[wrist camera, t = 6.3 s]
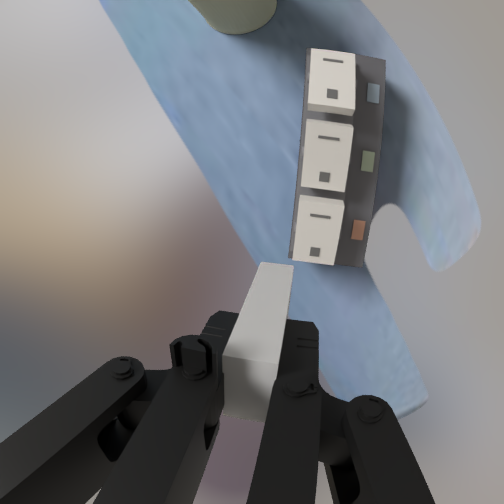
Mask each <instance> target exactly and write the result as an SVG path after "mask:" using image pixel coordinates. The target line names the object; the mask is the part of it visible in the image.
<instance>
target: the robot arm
mask: <svg viewBox="0 0 504 504" xmlns="http://www.w3.org/2000/svg"><path fill="white" fill-rule="evenodd" d="M293 270H294V266H292V265H284V264H275V263H267V262H261V263H260V266H259V268H258V271H257V273H256V275H255V278H254V280H253V283H252V285H251V287H250V290H249V292H248V295H247V297H246V300H245V302H244V304H243V307H242V309H241V312H240V314H239V313H232V312H226V311H218V312H217V313H215V314H214V315H212V316H211V317H210V318H209V320H208V322H207V323H206V326H205V327H204V329H203V331H202V334H200V335H187V336H182V337H179V338H177V339H175V340H174V341H173V342H172V343H171V344H170V352H171V359H172V366H173V367H172V368H171V369H168V370H144V367H143V365H142V363H141V362H140V361H139V360H137V359H135V358H132V357H124V356H123V357H122V356H121V357H117V358H113V359H112V360H110V361H108V362H106V363H105V364H104V365H102V366H101V367H100V368H98V369H97V370H96V371H95V372H93V373H92V374H91V375H89V376H88V377H87V378H86V379H84V380H83V381H82V382H80V383H79V384H78V385H76V386H75V387H74V388H72V389H71V390H70V391H68V392H67V393H66V394H64V395H63V396H62V397H61V398H59V399H58V400H57V401H55V402H54V403H53V404H51V405H50V406H49V407H47V408H46V409H45V410H43V411H42V412H41V413H40V414H38V415H37V416H36V417H34V418H33V419H32V420H30V421H29V422H28V423H27V424H25V425H24V426H22V427H21V428H20V429H19V430H17V431H16V432H15V433H13V434H12V435H11V436H9V437H8V438H7V439H5V440H4V441H3V442H2V443H0V504H85V503H86V502H87V501H88V500H89V499H90V498H91V497H92V496H93V495H94V494H95V493H96V492H98V490H100V489H101V490H100V492H99V494H98V496H97V497H96V499H95V501H94V502H93V504H193V501H194V498H195V495H196V493H197V490H198V487H199V484H200V482H201V479H202V476H203V473H204V470H205V468H206V465H207V462H208V459H209V456H210V453H211V450H212V448H213V445H214V442H215V439H216V436H217V434H218V430H219V424H220V421H219V418H220V415H221V412H222V409H223V415H224V416H229V417H235V418H240V419H245V420H251V421H257V422H264V423H265V426H264V430H263V435H262V440H261V444H260V449H259V453H258V457H257V462H256V466H255V470H254V474H253V479H252V483H251V487H250V491H249V495H248V499H247V503H246V504H315V496H316V485H317V473H318V461H320V462H323V463H324V466H325V470H326V475H327V479H328V483H329V487H330V491H331V495H332V499H333V504H435V502H434V500H433V497H432V495H431V493H430V490H429V488H428V485H427V483H426V481H425V479H424V476H423V474H422V472H421V470H420V467H419V465H418V463H417V461H416V459H415V456H414V454H413V452H412V450H411V448H410V446H409V443H408V441H407V439H406V437H405V435H404V433H403V431H402V429H401V427H400V425H399V423H398V420H397V418H396V416H395V414H394V412H393V410H392V408H391V407H390V406H389V404H388V403H387V402H386V401H384V400H383V399H381V398H379V397H376V396H372V395H362V396H358V397H355V398H354V399H352V400H351V401H350V402H347V401H344V400H340V399H337V398H335V397H333V396H330V395H329V394H328V393H326V392H325V391H324V390H323V388H322V387H321V385H320V384H319V380H318V368H319V350H318V349H319V342H318V341H319V331H318V329H317V327H316V326H315V324H314V323H313V322H307V321H298V320H290V319H287V318H288V311H289V303H290V295H291V287H292V278H293Z"/></svg>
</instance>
